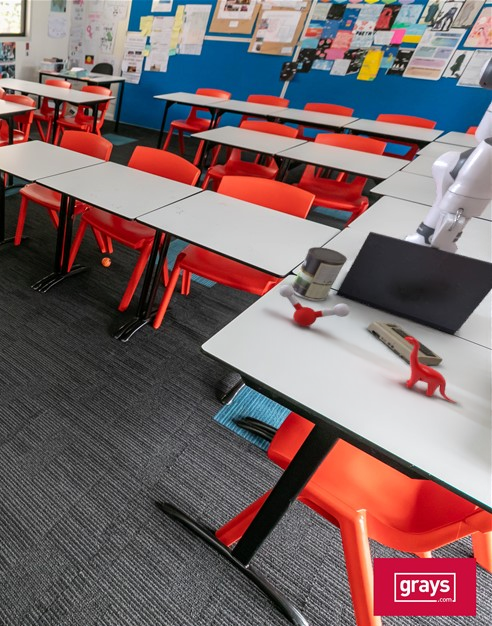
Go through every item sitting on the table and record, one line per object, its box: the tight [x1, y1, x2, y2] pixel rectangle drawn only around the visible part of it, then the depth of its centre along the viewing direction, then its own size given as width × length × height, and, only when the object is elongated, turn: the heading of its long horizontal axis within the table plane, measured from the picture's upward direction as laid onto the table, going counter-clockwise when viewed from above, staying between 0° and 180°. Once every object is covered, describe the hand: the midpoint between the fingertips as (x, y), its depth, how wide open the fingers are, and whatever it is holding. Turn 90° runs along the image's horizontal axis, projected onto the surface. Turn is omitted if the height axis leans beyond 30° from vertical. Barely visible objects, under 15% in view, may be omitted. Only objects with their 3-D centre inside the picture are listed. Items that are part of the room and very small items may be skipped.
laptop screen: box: [337, 231, 492, 332], centre depth 122 cm, size 21×30×1 cm
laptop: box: [335, 290, 457, 336], centre depth 135 cm, size 21×30×2 cm
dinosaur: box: [404, 336, 457, 404], centre depth 98 cm, size 4×15×12 cm, turn 50°
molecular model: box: [278, 284, 351, 327], centre depth 120 cm, size 18×6×10 cm, turn 46°
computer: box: [367, 320, 444, 366], centre depth 115 cm, size 16×8×3 cm, turn 4°
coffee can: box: [291, 246, 348, 302], centre depth 134 cm, size 10×10×14 cm
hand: (430, 252), depth 117 cm, fingers closed
